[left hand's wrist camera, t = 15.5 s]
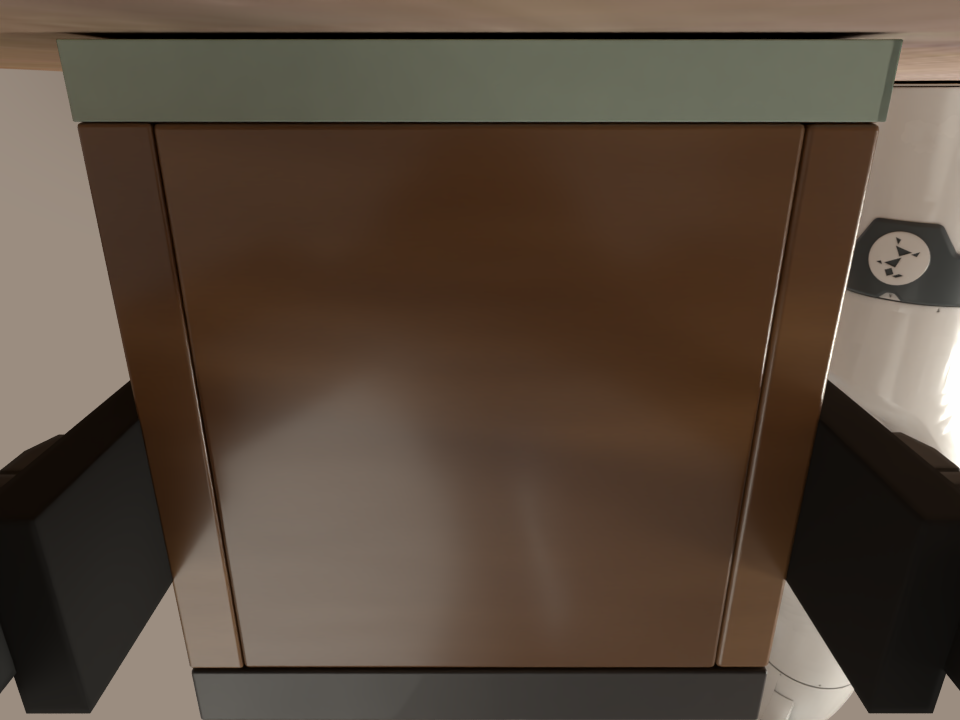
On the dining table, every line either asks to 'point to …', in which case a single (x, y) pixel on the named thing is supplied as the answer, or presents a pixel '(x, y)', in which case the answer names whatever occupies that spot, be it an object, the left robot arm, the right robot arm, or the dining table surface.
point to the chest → (478, 333)
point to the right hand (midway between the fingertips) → (477, 692)
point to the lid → (480, 693)
